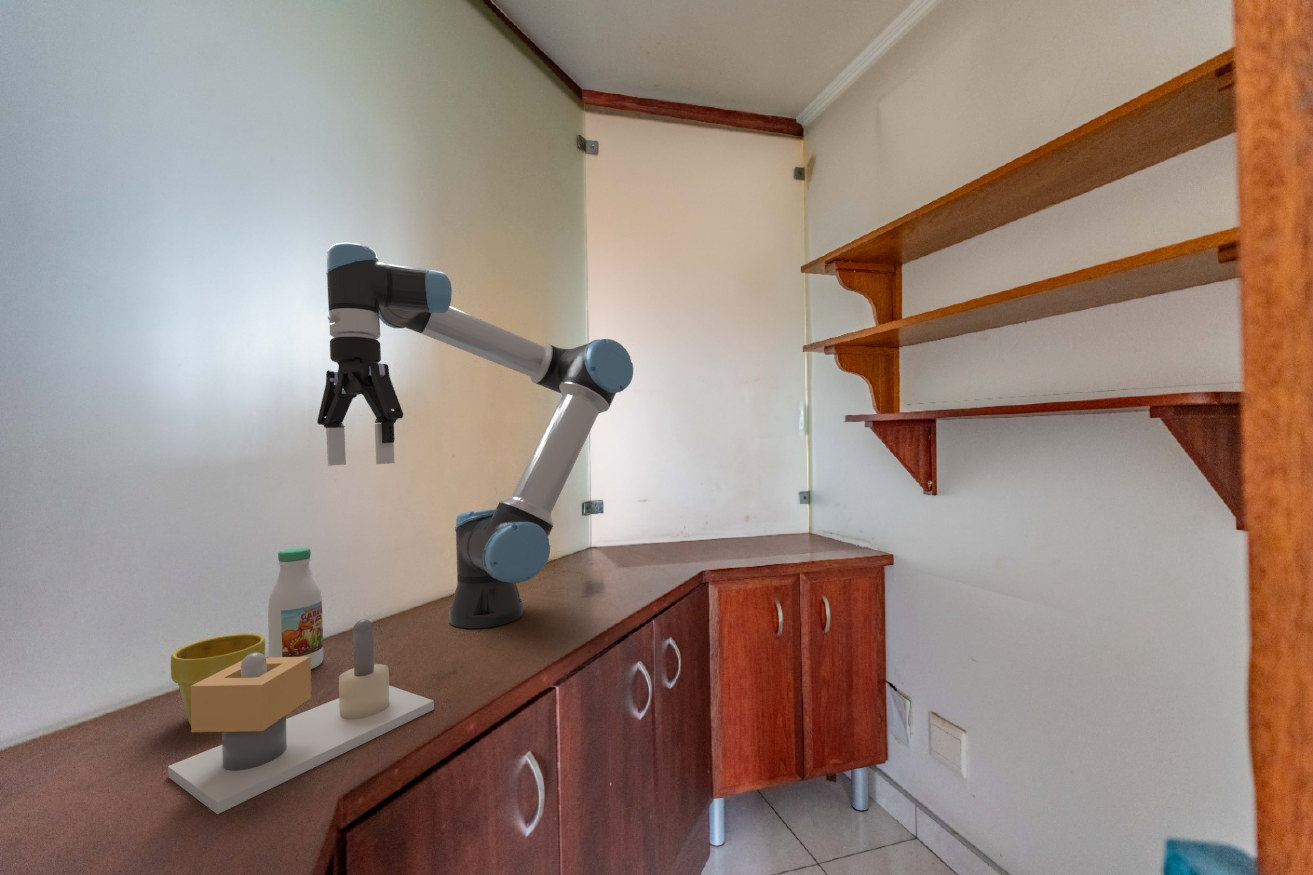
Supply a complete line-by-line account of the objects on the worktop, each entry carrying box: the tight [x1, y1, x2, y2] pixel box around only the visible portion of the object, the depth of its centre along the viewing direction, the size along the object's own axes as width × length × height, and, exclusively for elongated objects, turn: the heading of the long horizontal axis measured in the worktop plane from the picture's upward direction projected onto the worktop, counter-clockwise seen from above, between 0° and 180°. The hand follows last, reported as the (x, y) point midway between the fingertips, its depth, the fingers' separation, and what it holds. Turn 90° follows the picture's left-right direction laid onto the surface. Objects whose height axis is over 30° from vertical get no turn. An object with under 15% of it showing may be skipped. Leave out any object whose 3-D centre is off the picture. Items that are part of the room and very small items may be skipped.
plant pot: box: [170, 632, 266, 726], centre depth 77 cm, size 10×10×10 cm
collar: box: [190, 656, 312, 733], centre depth 64 cm, size 8×8×5 cm
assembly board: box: [167, 618, 435, 815], centre depth 69 cm, size 25×13×13 cm, turn 148°
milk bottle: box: [267, 547, 324, 670], centre depth 94 cm, size 8×8×20 cm
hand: (360, 464), depth 93 cm, fingers open, 13 cm apart
